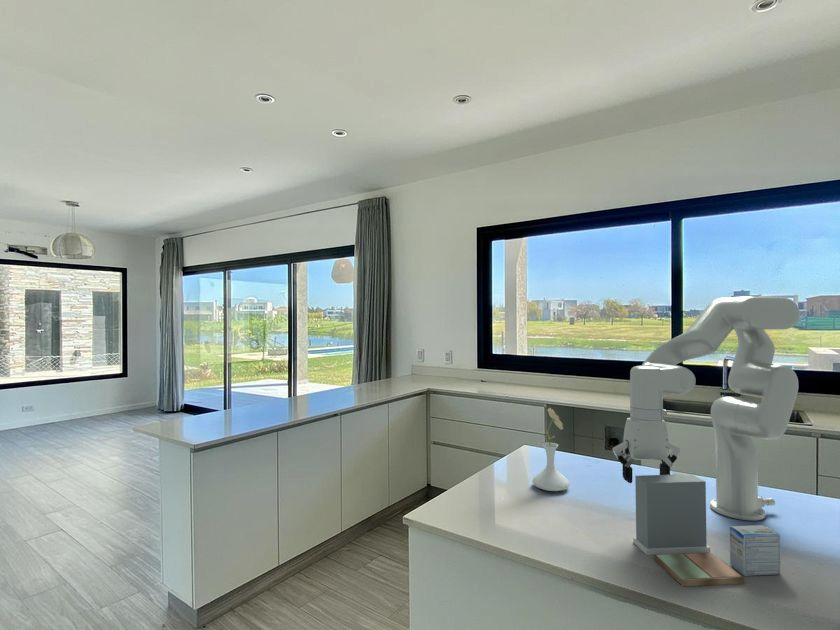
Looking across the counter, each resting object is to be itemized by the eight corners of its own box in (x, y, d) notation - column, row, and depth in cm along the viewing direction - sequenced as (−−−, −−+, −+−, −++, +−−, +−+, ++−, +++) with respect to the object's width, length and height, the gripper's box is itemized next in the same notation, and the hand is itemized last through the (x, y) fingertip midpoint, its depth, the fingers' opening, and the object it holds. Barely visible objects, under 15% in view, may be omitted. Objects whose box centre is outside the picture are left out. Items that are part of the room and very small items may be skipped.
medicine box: (764, 564, 99) (763, 524, 99) (781, 575, 94) (780, 534, 94) (729, 565, 99) (728, 525, 99) (744, 576, 94) (744, 535, 94)
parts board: (710, 557, 102) (709, 551, 102) (744, 583, 92) (744, 577, 92) (654, 559, 101) (654, 553, 101) (682, 586, 91) (682, 579, 91)
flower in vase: (569, 496, 137) (568, 414, 137) (531, 492, 140) (530, 412, 141) (569, 481, 149) (568, 406, 150) (534, 478, 153) (533, 404, 153)
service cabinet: (693, 539, 110) (692, 473, 110) (710, 552, 104) (709, 482, 104) (633, 542, 109) (632, 475, 109) (646, 555, 103) (645, 484, 103)
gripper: (670, 411, 120) (669, 475, 120) (606, 411, 119) (606, 476, 119) (688, 417, 113) (688, 486, 112) (620, 417, 112) (620, 486, 112)
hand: (646, 481), depth 116 cm, fingers open, 9 cm apart
